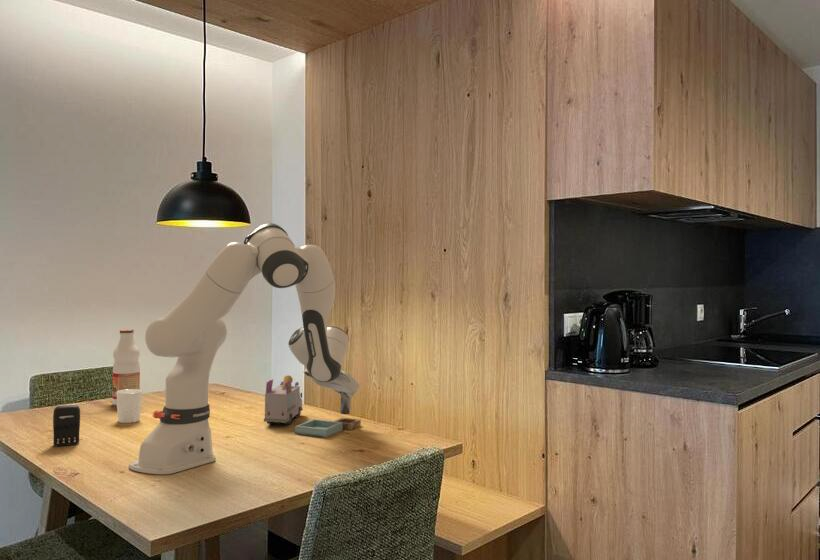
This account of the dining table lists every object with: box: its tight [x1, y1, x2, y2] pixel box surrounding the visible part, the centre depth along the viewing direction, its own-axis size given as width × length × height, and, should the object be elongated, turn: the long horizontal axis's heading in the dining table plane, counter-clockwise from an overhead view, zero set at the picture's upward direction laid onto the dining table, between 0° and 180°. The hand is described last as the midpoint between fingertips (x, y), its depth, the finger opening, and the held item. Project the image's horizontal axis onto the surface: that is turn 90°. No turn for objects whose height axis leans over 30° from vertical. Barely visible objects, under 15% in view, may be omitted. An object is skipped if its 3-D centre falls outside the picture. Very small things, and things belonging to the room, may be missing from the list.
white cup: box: [116, 389, 143, 424], centre depth 216 cm, size 8×8×10 cm
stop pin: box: [339, 391, 351, 415], centre depth 213 cm, size 4×4×11 cm
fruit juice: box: [111, 328, 141, 407], centre depth 242 cm, size 9×9×28 cm
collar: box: [334, 417, 362, 431], centre depth 213 cm, size 7×7×2 cm
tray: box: [294, 418, 344, 439], centre depth 206 cm, size 11×11×2 cm
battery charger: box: [52, 403, 81, 447], centre depth 185 cm, size 7×4×11 cm, turn 118°
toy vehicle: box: [263, 374, 303, 426], centre depth 220 cm, size 9×20×15 cm, turn 174°
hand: (347, 395), depth 214 cm, fingers closed on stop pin, 3 cm apart
